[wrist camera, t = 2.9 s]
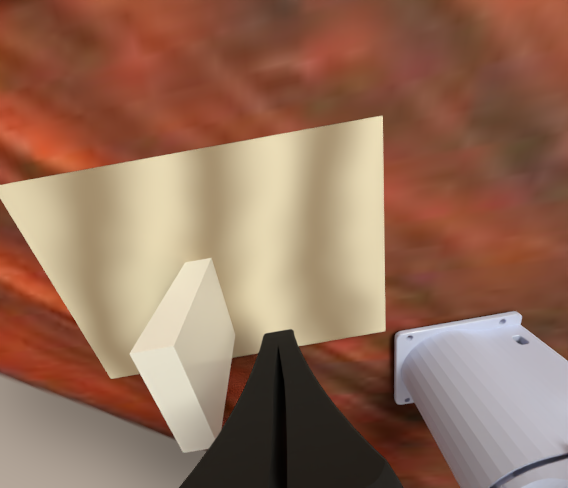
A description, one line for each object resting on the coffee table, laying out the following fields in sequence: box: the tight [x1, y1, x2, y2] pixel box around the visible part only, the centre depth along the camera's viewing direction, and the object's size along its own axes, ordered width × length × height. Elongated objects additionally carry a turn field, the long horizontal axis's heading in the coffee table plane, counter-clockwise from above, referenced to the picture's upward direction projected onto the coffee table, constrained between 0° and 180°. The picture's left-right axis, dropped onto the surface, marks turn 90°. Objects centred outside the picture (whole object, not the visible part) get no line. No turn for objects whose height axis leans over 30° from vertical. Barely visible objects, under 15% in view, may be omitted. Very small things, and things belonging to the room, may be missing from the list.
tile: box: [130, 258, 235, 453], centre depth 14 cm, size 2×6×7 cm, turn 9°
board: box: [0, 116, 385, 379], centre depth 17 cm, size 20×14×1 cm
